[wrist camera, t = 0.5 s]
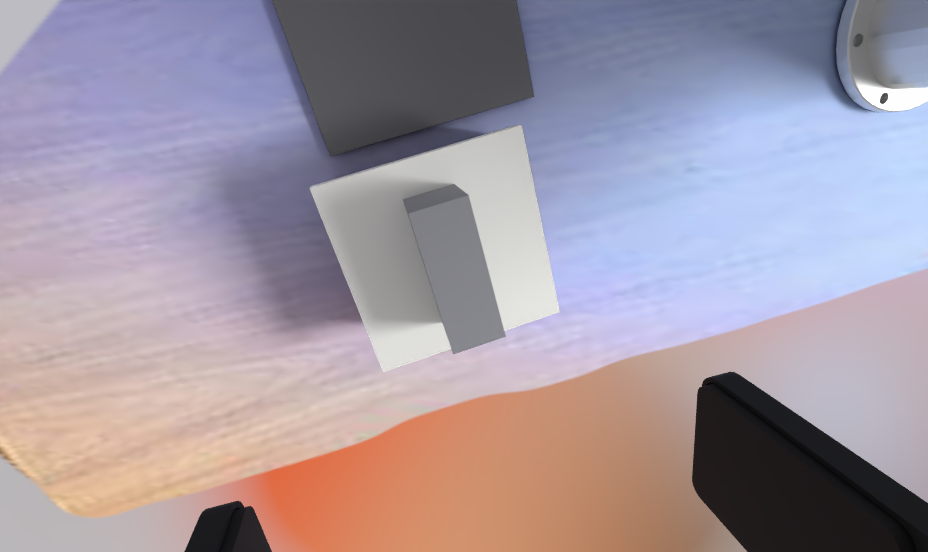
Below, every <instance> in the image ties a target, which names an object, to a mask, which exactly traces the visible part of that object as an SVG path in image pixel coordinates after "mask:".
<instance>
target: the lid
mask: <svg viewBox="0 0 928 552" xmlns="http://www.w3.org/2000/svg"><path fill="white" fill-rule="evenodd" d="M309 189H310V191H311V194H312V196H313V199H314V201H315V204H316V206H317V209H318V211H319V214H320V216H321V219H322V221H323V224H324V226H325V229H326V231H327V234H328V236H329V239H330V241H331V244H332V246H333V249H334V251H335V254H336V256H337V259H338V261H339V264H340V266H341V269H342V271H343V274H344V276H345V279H346V281H347V284H348V286H349V289H350V291H351V294H352V296H353V298H354V301H355V303H356V306H357V308H358V311H359V313H360V316H361V318H362V321H363V323H364V326H365V328H366V331H367V333H368V336H369V338H370V341H371V343H372V346H373V348H374V351H375V353H376V356H377V358H378V361H379V363H380V366H381V368H382V371H383V372H386V371H388V370H391V369H394V368H397V367H400V366H403V365H406V364H409V363H412V362H415V361H418V360H421V359H424V358H427V357H430V356H433V355H435V354H438V353H441V352H444V351H447V350H450V349H452V352H453V354H456V353H459V352H462V351H465V350H468V349H470V348H473V347H476V346H479V345H482V344H485V343H488V342H491V341H494V340H497V339H500V338H503V337H506V336H505V332H504V331H506V330H509V329H512V328H515V327H518V326H521V325H524V324H526V323H529V322H532V321H535V320H538V319H541V318H544V317H547V316H550V315H553V314H556V313H559V312H560V311H559V306H558V301H557V296H556V291H555V286H554V281H553V277H552V272H551V267H550V262H549V257H548V252H547V247H546V242H545V237H544V232H543V227H542V222H541V217H540V212H539V207H538V203H537V198H536V193H535V188H534V183H533V178H532V173H531V168H530V163H529V158H528V153H527V148H526V143H525V138H524V134H523V129H522V125H514V126H511V127H507V128H504V129H501V130H497V131H494V132H490V133H487V134H484V135H480V136H477V137H474V138H470V139H467V140H464V141H460V142H457V143H453V144H450V145H447V146H443V147H440V148H437V149H433V150H430V151H426V152H423V153H420V154H416V155H413V156H410V157H406V158H403V159H400V160H396V161H393V162H389V163H386V164H383V165H379V166H376V167H373V168H369V169H366V170H362V171H359V172H356V173H352V174H349V175H346V176H342V177H339V178H336V179H332V180H329V181H325V182H322V183H319V184H315V185H312V186H311V187H310V188H309Z"/></svg>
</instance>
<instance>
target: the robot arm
mask: <svg viewBox="0 0 928 552" xmlns="http://www.w3.org/2000/svg"><path fill="white" fill-rule="evenodd" d="M836 57H837V67H838V71H839V76H840V80H841V82H842V84H843V86H844V88H845V90H846V92H847V94H848V95H849V96H850V97H851V98H852V99H853V101H854V102H856V103H857V104H859V105H860V106H861V107H863V108H865V109H868V110H871V111H875V112H897V111H905V110H908V109H912V108H915V107H917V106H919V105H921V104H923V103H925V102H927V101H928V0H847V1H846V4H845V7H844V9H843V12H842V15H841V20H840V24H839V28H838V33H837V44H836ZM696 411H697V412H696V426H695V443H694V458H693V474H692V482H693V486H694V488H695V491H696V492H697V494H698V496H699V497H700V498H701V500H702V501H703V502H704V503H705V504H706V505H707V506H708V507H709V509H710V510H711V511H712V512H713V513H714V514H715V515H716V517H717V518H718V519H719V520H720V521H721V522H722V523H723V524H724V526H726V528H727V529H728V530H729V531H730V532H731V534H732V535H733V536H734V537H735V538H736V539H737V540H738V541H739V543H740V544H741V545H742V546H743V547H744V548H745V549H746V550H747V552H928V503H927V502H925V501H924V500H922V499H921V498H919V497H918V496H916V495H915V494H914V493H912V492H911V491H909V490H908V489H906V488H905V487H903V486H902V485H900V484H899V483H897V482H896V481H894V480H893V479H892V478H890V477H889V476H887V475H886V474H884V473H883V472H881V471H880V470H878V469H877V468H875V467H874V466H872V465H871V464H870V463H868V462H867V461H865V460H864V459H862V458H861V457H859V456H858V455H856V454H855V453H853V452H852V451H850V450H849V449H847V448H846V447H845V446H843V445H842V444H840V443H839V442H837V441H836V440H834V439H833V438H831V437H830V436H828V435H827V434H825V433H824V432H823V431H821V430H819V429H818V428H817V427H815V426H814V425H812V424H811V423H809V422H808V421H806V420H805V419H803V418H802V417H801V416H799V415H798V414H796V413H794V412H793V411H792V410H790V409H789V408H787V407H786V406H784V405H783V404H781V403H780V402H778V401H777V400H776V399H774V398H773V397H771V396H770V395H768V394H767V393H765V392H764V391H762V390H761V389H759V388H758V387H756V386H755V385H754V384H752V383H751V382H749V381H748V380H746V379H745V378H743V377H742V376H740V375H738V374H737V373H735V372H728V373H724V374H720V375H717V376H712V377H709V378H706V379H705V380H704V381H703V384H702V387H700V388H699V389H698V394H697V410H696ZM185 552H272V551H271V549H270V546H269V544H268V542H267V539H266V537H265V535H264V533H263V530H262V527H261V525H260V523H259V521H258V518H257V516H256V513H255V511H254V509H253V508H252V507H251V506H248V507H245V508H244V506H243V504H242V503H241V502H239V501H235V502H231V503H227V504H224V505H220V506H216V507H212V508H208V509H206V510H204V511H203V512H202V514H201V515H200V517H199V520H198V522H197V524H196V526H195V529H194V531H193V533H192V536H191V538H190V540H189V543H188V545H187V547H186V550H185Z"/></svg>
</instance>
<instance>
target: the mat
mask: <svg viewBox="0 0 928 552" xmlns="http://www.w3.org/2000/svg"><path fill="white" fill-rule="evenodd" d="M272 1H273V4H274V6H275V9H276V12H277V14H278V17H279V20H280V22H281V25H282V28H283V30H284V33H285V36H286V39H287V41H288V44H289V47H290V49H291V52H292V55H293V57H294V60H295V63H296V65H297V68H298V71H299V73H300V76H301V79H302V82H303V84H304V87H305V90H306V92H307V95H308V98H309V100H310V103H311V106H312V108H313V111H314V114H315V116H316V119H317V122H318V125H319V127H320V130H321V133H322V135H323V138H324V141H325V143H326V146H327V149H328V151H329V154H330V156H332V155H335V154H339V153H342V152H346V151H349V150H353V149H356V148H359V147H363V146H366V145H370V144H373V143H377V142H380V141H383V140H387V139H390V138H394V137H397V136H401V135H404V134H407V133H411V132H414V131H418V130H421V129H425V128H428V127H431V126H435V125H438V124H442V123H445V122H449V121H452V120H455V119H459V118H462V117H466V116H469V115H473V114H476V113H479V112H483V111H486V110H490V109H493V108H497V107H500V106H503V105H507V104H510V103H514V102H517V101H520V100H524V99H527V98H531V97H534V93H533V88H532V82H531V77H530V72H529V66H528V61H527V56H526V50H525V45H524V40H523V34H522V29H521V24H520V18H519V13H518V8H517V3H516V0H272Z"/></svg>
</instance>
